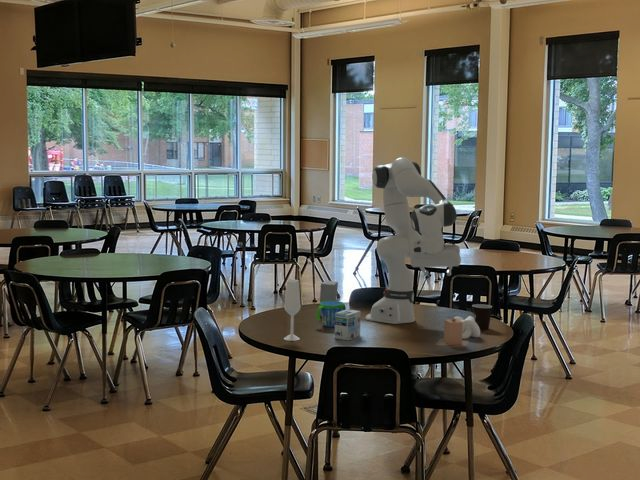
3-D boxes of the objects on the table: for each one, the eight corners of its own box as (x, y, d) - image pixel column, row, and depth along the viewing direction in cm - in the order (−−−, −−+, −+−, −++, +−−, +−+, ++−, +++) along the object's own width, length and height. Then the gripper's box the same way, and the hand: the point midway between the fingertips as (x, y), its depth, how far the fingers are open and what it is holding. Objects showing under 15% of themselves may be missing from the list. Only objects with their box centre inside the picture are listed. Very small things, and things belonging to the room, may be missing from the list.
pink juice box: (448, 344, 333) (449, 320, 332) (443, 341, 339) (444, 316, 338) (461, 344, 334) (462, 319, 333) (456, 340, 341) (457, 316, 339)
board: (434, 347, 333) (435, 344, 333) (440, 340, 345) (440, 338, 344) (465, 350, 329) (465, 347, 329) (469, 343, 341) (470, 341, 341)
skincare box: (323, 313, 394) (323, 280, 393) (337, 314, 392) (338, 281, 391) (318, 316, 386) (318, 282, 384) (333, 317, 384) (334, 283, 383)
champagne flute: (284, 336, 346) (285, 278, 343) (301, 337, 345) (302, 279, 342) (282, 340, 339) (283, 281, 336) (298, 340, 338) (300, 282, 336)
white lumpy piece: (459, 342, 342) (460, 321, 341) (443, 336, 353) (444, 315, 352) (482, 340, 346) (483, 319, 345) (466, 334, 357) (467, 313, 356)
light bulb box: (347, 340, 341) (348, 314, 339) (333, 338, 344) (334, 312, 343) (360, 336, 350) (361, 310, 348) (346, 333, 353) (347, 308, 352)
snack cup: (322, 330, 359) (323, 306, 358) (309, 325, 368) (310, 302, 367) (352, 326, 368) (353, 303, 367) (338, 321, 377) (339, 299, 375)
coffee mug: (491, 331, 364) (492, 308, 363) (470, 329, 366) (471, 307, 365) (491, 325, 376) (492, 303, 374) (471, 324, 377) (472, 302, 376)
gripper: (460, 240, 336) (464, 271, 341) (410, 242, 343) (415, 272, 349) (457, 247, 330) (461, 278, 336) (407, 249, 338) (412, 279, 343)
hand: (437, 275), depth 342 cm, fingers open, 8 cm apart
